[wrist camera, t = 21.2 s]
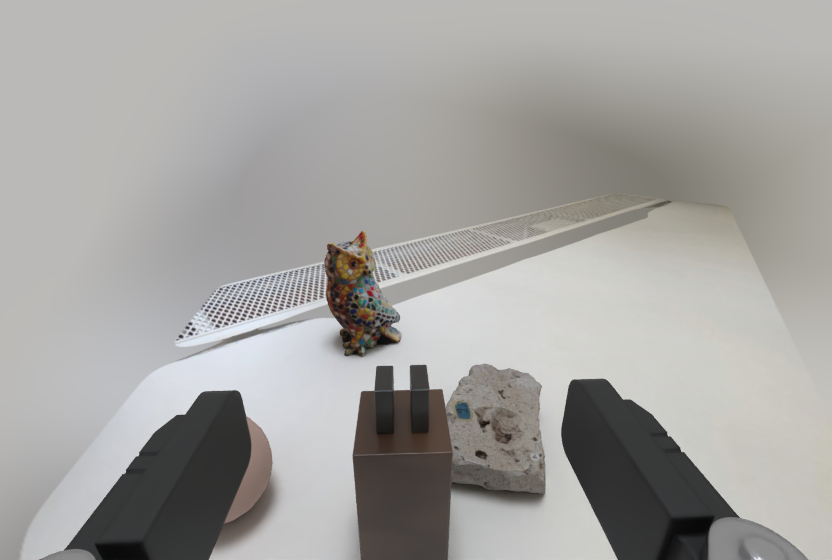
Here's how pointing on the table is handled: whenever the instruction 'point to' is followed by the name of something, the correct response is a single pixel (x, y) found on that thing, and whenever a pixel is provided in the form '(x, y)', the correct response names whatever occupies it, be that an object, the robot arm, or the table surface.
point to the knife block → (403, 470)
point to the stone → (497, 430)
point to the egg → (253, 474)
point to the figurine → (358, 297)
